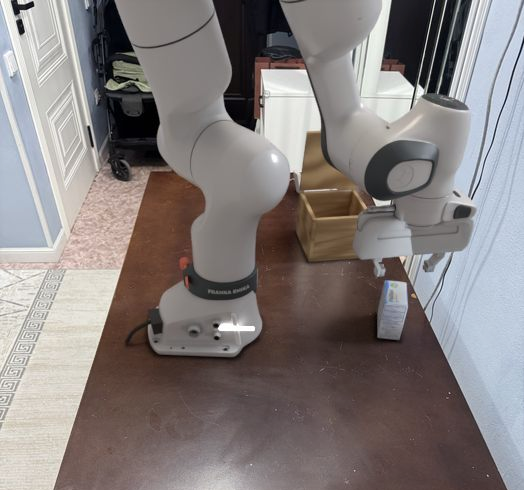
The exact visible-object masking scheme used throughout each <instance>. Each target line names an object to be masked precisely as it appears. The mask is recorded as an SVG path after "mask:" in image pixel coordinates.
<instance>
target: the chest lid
mask: <svg viewBox="0 0 524 490" xmlns="http://www.w3.org/2000/svg"><path fill="white" fill-rule="evenodd" d="M300 174H301V180H300V187H299V189H300V191H306V190H325V189H337V190H344V189H355V188H356V186H357V185H356V184H354V183H353V182H352V181H351V180H350V179H349V178H347V177H346V176H345V175H344V174H343V173H341V172H339V171H338V170H336V169H335V168H333V167H332V166H330V165H329V164H328V163H327V162H326V160H325V158H324V156H323V154H322V149H321V129H320V130H307V131H306V135H305V142H304V149H303V157H302V164H301V172H300Z"/></svg>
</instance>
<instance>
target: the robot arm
mask: <svg viewBox="0 0 524 490" xmlns="http://www.w3.org/2000/svg"><path fill="white" fill-rule="evenodd" d="M278 1H279V4H280V6H281V9H282V12H283V15H284V17H285V19H286V21H287V23H288V26H289V28H290V30H291V33H292V35H293V37H294V39H295V41H296V43H297V47H298V49H299V52H300V55H301V58H302V62H303V65H304V68H305V71H306V74H307V77H308V81H309V84H310V87H311V90H312V94H313V96H314V100H315V104H316V106H317V109H318V113H319V117H320V130H321V149H322V154H323V156H324V158H325V160H326V162H327V163H328V164H329V165H330V166H332V167H333V168H335V169H336V170H338V171H339V172H341V173H343V174H344V175H345V176H346V177H347V178H349V179H350V180H351V181H352V182H353V183H354V184H356V186H357V187H358V188H359V189H360V190H361V191H363V192H364V193H365V194H366V195H368V196H369V197H370V198H372V199H374V200H376V201H379V202H389V201H392V204H383V205H370V206H367V209H365V210H363V211H362V212H361V213H359V215H358V219H357V229H356V232H355V236H354V240H353V250H354V252H355V254H356V255H357V256H358V257H359V258H358V259H359V260H362V261H363V260H371V261H372V263H373V265H374V267H373V275H374V276H375V278H382V277H385V273H386V271H387V270H386V267H385V266H384V264H383V263H382V262H383V259H386V258H387V259H388V258H389V259H390V258H398V257H410V256H422V255H423V256H424V255H430V257H429V258H428V259H424V260H423V265H422V271H424V273H434V272H435V268H436V266H437V265H438V264H439V263H440V262H441V261H442V260H443V259H444V258H445V255H446V253H456V252H457V253H459V252H462V251H464V250H465V249H466V248H467V247H468V246H469V244H470V242H471V239H472V235H473V231H474V227H475V221H474V220H475V219H473V218H474V217H475V216H476V214H477V211H478V207H477V205H476V203H474V201H473V200H472V198H470V196H468V195H467V194H466V193H464V192H463V190H461V189H459V188H456V187H455V178H456V177H455V176H456V174H457V172H458V170H459V168H460V167H461V165H462V162H463V159H464V155H465V152H466V148H467V144H468V140H469V135H470V129H471V120H472V119H471V110H470V108H469V107H468V105H467V104H466V103H464V102H462V101H461V100H459V99H457V98H454V97H452V96H448V95H446V94H440V93H435V92H434V93H431V92H429V93H424V94H421V95H420V96H419V98H418V100H417V102H416V103H415V105H413V107H412V108H410V109H409V111H407V112H406V113H405V114H404V115H403V116H401V117H399V118H397V119H396V120H394V121H392V122H388V121H387V120H385V119H384V118H382V117H381V116H379V115H378V114H377V113H375V112H374V111H373V110H372V109H370V107H368V106H367V105H366V103H365V102H364V101H363V99H362V97H361V94H360V90H359V86H358V82H357V77H356V72H355V68H354V64H353V59H352V55H351V54H352V53H351V52H352V51H354V50H355V49H356V48H358V47H359V46H360V45H361V44H363V42H364V41H366V39H367V38H368V37H369V36H370V35H371V33H372V31H373V30H374V28H375V26H376V24H377V22H378V20H379V18H380V16H381V12H382V9H383V0H278ZM114 3H115V5H116V9H117V11H118V15H119V17H120V19H121V23H122V24H123V27H124V30H125V33H126V35H127V37H128V40H129V42H130V44H131V46H132V49H133V51H134V53H135V56H136V58H137V60H138V62H139V65H140V67H141V69H142V72H143V74H144V77H145V79H146V81H147V84H148V87H149V88H150V91H151V93H152V96H153V99H154V102H155V105H156V109H157V114H158V117H159V126H158V129H157V134H156V144H157V149H158V152H159V154H160V156H161V157H162V159H163V160H164V161H165V162H166V164H167V165H168V166H169V167H170V168H171V169H172V170H173V172H174V173H176V175H177V176H179V177H180V178H182V179H184V180H185V181H187V182H189V183H190V184H192V185H193V186H195V187H197V188H198V189H200V190H201V192H202V194H203V196H204V200H205V207H204V211H203V212H202V213H201V214H200V215H198V216H197V217H196V218H195V219H194V221H193V222H192V224H191V227H190V240H191V252H192V261H191V259H190V258H189V257H187V256H182V257H181V258H180V259H179V269H180V270H181V271H182V280H180V281H178V282H177V283H175V284H174V285H173V286H171V287H170V288H168V289H166V290H165V291H164V292H163V293H162V295H161V297H160V300H159V304H158V305H157V306H156V307H155V308H150V309H147V314H148V320H146V321H144V322H142V323H141V324H139V325H137V326H135V327H134V328H133V329H131V331H130V332H129V333H128V335H127V337H126V339H125V340H124V343H125V344H126V345H127V344H129V343H130V341H131V340H132V338H133V336H134V335H135V334H136V333H137V332H138V331H140V330H142V329H143V328H146V327H147V337H148V338H147V339H148V342H149V345H150V347H151V348H152V350H153V351H154V352H156V354H158V355H162V356H163V355H165V356H166V355H167V356H187V357H188V356H190V357H191V356H192V357H216V358H219V357H220V358H234V357H236V356H238V355H239V354H240V352H241V351H242V349H243V348H244V347H245V346H247V345H248V344H250V343H252V342H253V341H254V340H256V339H257V338H258V336H259V335H260V334H261V332H262V329H263V320H262V317H261V314H260V311H259V307H258V306H259V305H258V302H257V292H258V285H259V277H258V276H259V269H258V265H257V261H256V245H257V244H256V243H257V231H258V225H259V223H260V220H261V218H262V217H263V216H264V214H267V213H268V212H271V211H272V210H273V209H275V208H276V207H277V206H278V205H279V204H280V203H281V201H282V200H283V199H284V197H285V195H286V193H287V191H288V189H289V185H290V181H291V167H290V162H289V160H288V158H287V156H286V155H285V154H284V153H283V152H282V151H281V150H280V148H278V147H277V146H276V145H275V144H273V142H271V141H270V140H269V139H268V138H267V137H265V136H264V135H262V134H260V133H258V132H255V131H253V130H251V129H250V128H247V127H244V126H242V125H241V124H238V123H237V122H235V121H234V120H233V119H232V118H231V116H230V115H229V113H228V112H227V110H226V107H225V101H224V93H225V92H226V91H227V89H228V87H229V85H230V83H231V80H232V75H233V71H232V69H233V67H232V64H231V60H230V57H229V54H228V50H227V46H226V43H225V39H224V36H223V33H222V29H221V26H220V22H219V19H218V16H217V11H216V8H215V5H214V2H213V0H114Z"/></svg>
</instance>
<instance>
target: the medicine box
mask: <svg viewBox="0 0 524 490" xmlns="http://www.w3.org/2000/svg"><path fill="white" fill-rule="evenodd" d="M408 308H409V299H408V283H407V282H405V281H398V280H384V282H383V285H382V290H381V295H380V299H379V303H378V307H377V313H376V315H377V316H376V319H377V323H376V325H377V327H376V329H377V336H376V338H378V339H385V340H393V341H394V340H395V341H400V339H401V335H402V332H403V328H404V324H405V320H406V316H407V314H408V313H407V312H408Z"/></svg>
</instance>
